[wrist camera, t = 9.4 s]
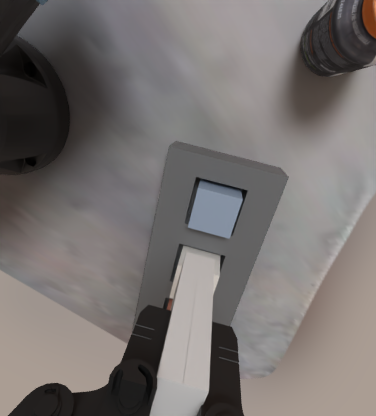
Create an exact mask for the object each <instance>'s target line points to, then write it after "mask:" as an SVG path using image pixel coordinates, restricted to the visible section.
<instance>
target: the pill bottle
mask: <svg viewBox="0 0 376 416" xmlns="http://www.w3.org/2000/svg"><path fill="white" fill-rule="evenodd" d="M301 53H302V57H303V60H304V62H305V64H306V66H307V67H308V68H309V69H310V70H311V71H312V72H314V73H316V74H318V75H320V76H325V77H331V76H337V75H341V74H345V73H348V72H352V71H355V70H359V69H363V68H366V67H370V66H373V65H376V0H329V1H328V2H327V3H326V4H325V5H324V6H323V7H322V8H321V9H320V10H319V11H318V12H317V13H316V14H315V15H314V16H313V17H312V18H311V20H310V21H309V23H308V24H307V26H306V28H305V30H304V33H303V36H302V41H301Z"/></svg>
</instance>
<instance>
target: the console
mask: <svg viewBox="0 0 376 416" xmlns="http://www.w3.org/2000/svg"><path fill="white" fill-rule="evenodd" d="M201 178H202V179H206V180H210V181H214V182H218V183H221V184H225V185H229V186H233V187H237V188H241V193H242V198H243V200H242V203H241V206H240V209H239V212H238V215H237V218H236V221H235V224H234V227H233V230H232V233H231V236H230V239H229V238H225V237H221V236H217V235H214V234H210V233H206V232H203V231H199V230H195V229H191V228H188V225H189V221H190V217H191V213H192V209H193V205H194V201H195V197H196V194H197V190H198V186H199V183H200V180H201ZM288 178H289V177H288V176H287V175H286V174H285V172H284V171H283V170H282V169H281V168H279V167H275V166H271V165H267V164H263V163H259V162H255V161H252V160H248V159H244V158H240V157H236V156H232V155H228V154H224V153H220V152H217V151H213V150H209V149H205V148H201V147H197V146H193V145H189V144H186V143H182V142H178V141H176V142H174V143H173V144H171V145H170V146H169V149H168V154H167V159H166V164H165V169H164V174H163V179H162V184H161V189H160V194H159V199H158V204H157V209H156V214H155V219H154V224H153V229H152V234H151V239H150V244H149V249H148V254H147V259H146V264H145V269H144V274H143V279H142V284H141V289H140V294H139V299H138V304H137V309H136V314H135V319H134V324H133V329H134V327H135V325H136V322H137V319H138V316H139V314H140V312H141V311H142V310H143V309H144V308H145V307H146V306H147V305H148V304H149V305H152V306H156V307H159V308H163V309H166V310H167V306H168V303H169V299H172V298H169V297H170V293H171V289H172V285H173V281H174V278H175V274H176V270H177V266H178V262H179V259H180V256H181V252H182V249H183V245H184V246H188V247H191V248H195V249H199V250H203V251H206V252H210V253H214V254H217V255H220V277H219V280H218V283H217V286H216V288H215V291H214V294H213V308H212V322H216V323H220V324H223V325H227V326H230V324H231V322H232V319H233V317H234V314H235V312H236V309H237V306H238V304H239V301H240V299H241V296H242V294H243V291H244V289H245V286H246V284H247V281H248V279H249V276H250V274H251V271H252V269H253V266H254V264H255V261H256V259H257V256H258V254H259V251H260V248H261V246H262V243H263V241H264V238H265V236H266V233H267V231H268V228H269V226H270V223H271V221H272V218H273V216H274V213H275V211H276V208H277V206H278V203H279V201H280V198H281V196H282V193H283V190H284V188H285V185H286V183H287V180H288ZM172 300H173V299H172ZM133 329H132V332H133Z"/></svg>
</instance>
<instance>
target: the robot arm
mask: <svg viewBox="0 0 376 416" xmlns="http://www.w3.org/2000/svg"><path fill="white" fill-rule="evenodd" d="M47 1H48V0H0V174H5V175H17V174H23V173H27V172H31V171H33V170H36V169H39V168H42V167H44V166H46V165H48V164H49V163H50V162H52V161H53V160H54V159H55V158H56V157H57V156H58V154H59V153H60V152H61V150H62V148H63V146H64V144H65V142H66V139H67V135H68V130H69V108H68V102H67V98H66V95H65V92H64V89H63V86H62V84H61V82H60V80H59V78H58V76H57V74H56V72H55V71H54V69H53V68H52V66H51V65H50V63H49V62H48V61H47V60H46V58H45V57H44V56H43V55H42V54H41V53H40V52H39V51H38V50H37V49H36V48H34V47H33V46H32V45H31V44H29V43H28V42H26V41H25V40H23V39H21V38H20V37H18V36H16V35H17V34H18V32H19V31H20V29H21V28H22V27H23V25H24V24H25V23H26V21H27V20H28V18H29V17H30V16H31V15H32V13H33V12H34V11H35V9H36V8H37V7H38V6H39V4H41V5H44V4H45V3H46V2H47ZM214 262H215V260H214V259H211V258H207V257H203V256H200V255H196V254H193V253H189V252H186V254H185V258H184V261H183V265H182V268H181V272H180V275H179V279H178V282H177V286H176V290H175V293H174V297H173V301H172V306H171V310H166V309H163V308H159V307H156V306H152V305H149V304H148V305H147V306H146V307H145V308H144V309H143V310H142V311H141V312H140V314H139V316H138V319H137V322H136V325H135V327H134V329H133V332H132V335H131V337H130V340H129V343H128V345H127V348H126V351H125V353H124V356H123V358H122V361H121V363H120V364H119V365H118V366H116V367H115V368H114V370H113V371H112V373H111V374H110V377H109V383H108V384H107V385H106V386H104V387H102V388H100V389H98V390H94V391H89V392H78V393H72V392H71V391H70V390H69V389H68V388H67V387H66V386H65V385H62V384H59V383H50V384H45V385H43V386H40V387H38V388H36V389H35V390H33V391H32V392H31V393H30V394H29V395H27V396H26V397H25V398H24V399H23V401H22V402H21V403H20V404H19V405H18V406H17V407H16V408H15V409H14V410H13V411H12V412H11V413H10V414H9V415H8V416H244V414H243V410H242V404H241V390H240V374H239V364H238V362H239V359H238V343H237V337H236V335H235V333H234V331H233V329H232V327H230V326H227V325H223V324H220V323H216V322H212V308H213V285H214Z"/></svg>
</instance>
